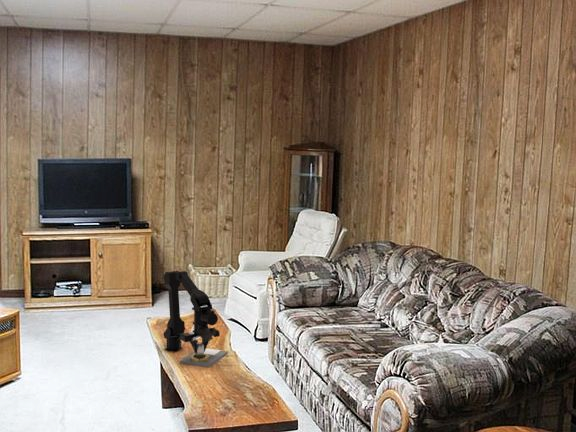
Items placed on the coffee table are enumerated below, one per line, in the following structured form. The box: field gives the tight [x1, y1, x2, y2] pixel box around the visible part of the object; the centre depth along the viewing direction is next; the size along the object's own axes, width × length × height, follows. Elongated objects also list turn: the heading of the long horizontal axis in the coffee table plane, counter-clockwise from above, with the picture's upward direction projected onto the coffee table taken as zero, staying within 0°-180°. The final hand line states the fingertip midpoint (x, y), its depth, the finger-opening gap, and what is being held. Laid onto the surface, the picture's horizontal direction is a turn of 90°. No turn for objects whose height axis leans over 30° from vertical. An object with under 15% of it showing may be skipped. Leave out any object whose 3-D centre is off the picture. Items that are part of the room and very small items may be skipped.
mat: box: [204, 347, 222, 356], centre depth 336 cm, size 8×8×1 cm
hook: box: [188, 325, 201, 340], centre depth 362 cm, size 8×12×7 cm
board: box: [179, 350, 229, 368], centre depth 330 cm, size 15×22×1 cm
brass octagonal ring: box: [190, 354, 209, 362], centre depth 325 cm, size 8×8×2 cm
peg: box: [196, 341, 204, 358], centre depth 325 cm, size 4×4×7 cm
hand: (199, 352), depth 325 cm, fingers closed on peg, 4 cm apart
